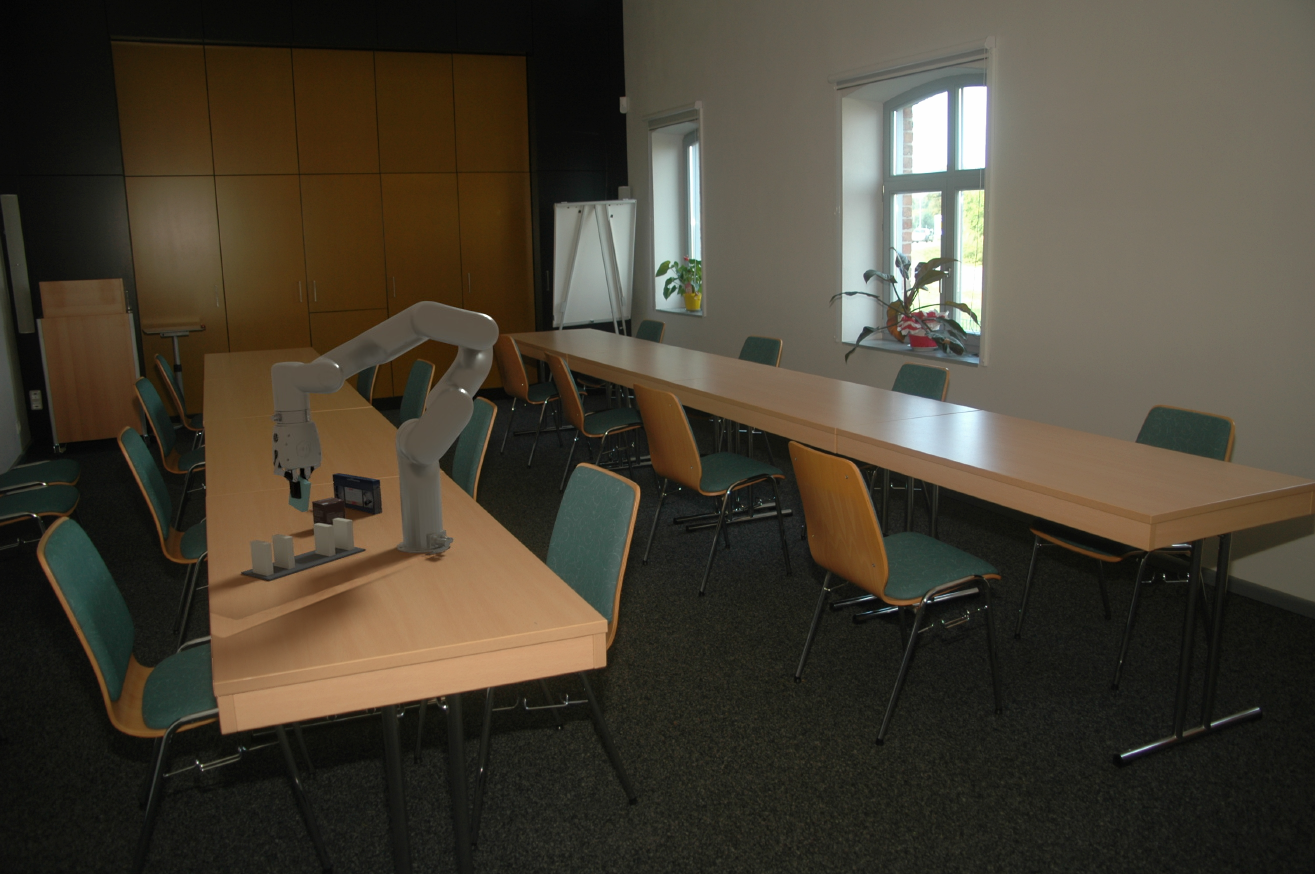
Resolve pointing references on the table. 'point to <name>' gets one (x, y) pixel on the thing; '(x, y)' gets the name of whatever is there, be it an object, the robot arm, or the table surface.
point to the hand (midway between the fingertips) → (300, 496)
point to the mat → (304, 563)
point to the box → (328, 510)
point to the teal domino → (302, 496)
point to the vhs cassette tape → (358, 492)
